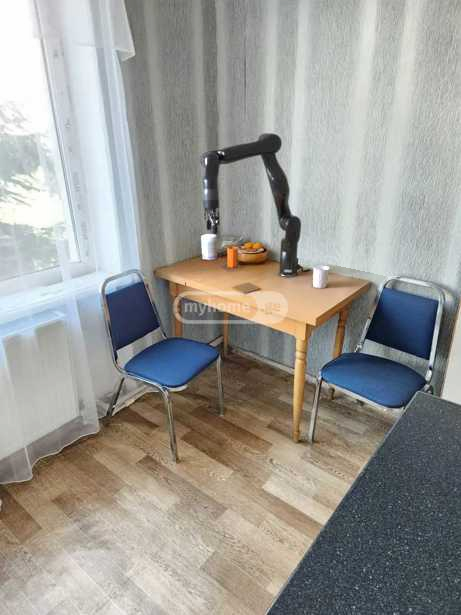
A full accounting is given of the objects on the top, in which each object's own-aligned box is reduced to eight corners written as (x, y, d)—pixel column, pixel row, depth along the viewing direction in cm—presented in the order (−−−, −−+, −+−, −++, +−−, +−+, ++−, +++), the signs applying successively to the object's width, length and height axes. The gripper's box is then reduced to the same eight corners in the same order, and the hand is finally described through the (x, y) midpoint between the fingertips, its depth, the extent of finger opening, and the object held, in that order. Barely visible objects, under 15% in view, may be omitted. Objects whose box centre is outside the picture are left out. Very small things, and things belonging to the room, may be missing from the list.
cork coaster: (248, 283, 209) (248, 282, 209) (260, 289, 201) (260, 288, 201) (233, 287, 204) (233, 286, 204) (244, 293, 196) (244, 292, 196)
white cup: (309, 284, 207) (310, 266, 203) (322, 282, 210) (323, 264, 206) (317, 289, 200) (318, 271, 196) (330, 287, 203) (332, 269, 199)
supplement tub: (219, 256, 252) (218, 234, 245) (214, 261, 243) (214, 238, 237) (204, 255, 254) (203, 233, 248) (199, 260, 246) (199, 237, 239)
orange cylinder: (234, 263, 235) (234, 246, 231) (238, 266, 231) (239, 248, 226) (226, 265, 233) (226, 247, 229) (230, 268, 229) (230, 249, 224)
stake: (236, 264, 238) (236, 249, 234) (242, 268, 230) (242, 253, 227) (222, 266, 235) (222, 251, 231) (228, 270, 227) (228, 255, 223)
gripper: (224, 199, 181) (224, 234, 188) (212, 195, 193) (213, 227, 200) (208, 200, 178) (210, 235, 185) (198, 196, 190) (199, 229, 197)
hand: (212, 231), depth 192 cm, fingers open, 8 cm apart
